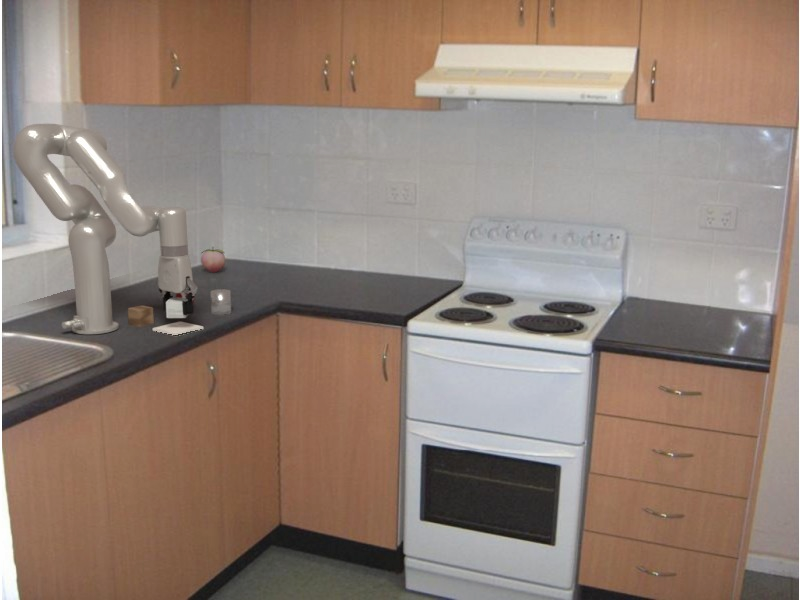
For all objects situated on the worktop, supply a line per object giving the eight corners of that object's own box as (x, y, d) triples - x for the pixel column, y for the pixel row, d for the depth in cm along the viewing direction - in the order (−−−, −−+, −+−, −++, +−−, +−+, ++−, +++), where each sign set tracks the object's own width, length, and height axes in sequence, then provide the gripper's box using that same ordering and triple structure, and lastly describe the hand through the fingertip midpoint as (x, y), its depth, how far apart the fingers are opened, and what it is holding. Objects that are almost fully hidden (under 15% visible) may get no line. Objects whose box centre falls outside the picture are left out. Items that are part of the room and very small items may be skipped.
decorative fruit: (228, 270, 342) (227, 245, 340) (224, 274, 334) (223, 248, 332) (203, 270, 342) (202, 245, 339) (199, 274, 334) (198, 248, 331)
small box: (186, 318, 247) (185, 301, 246) (166, 318, 247) (164, 301, 246) (190, 313, 253) (189, 297, 252) (170, 313, 253) (169, 297, 252)
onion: (190, 311, 274) (189, 286, 272) (173, 310, 275) (171, 285, 273) (198, 307, 279) (197, 282, 277) (181, 306, 280) (180, 282, 278)
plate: (175, 336, 244) (175, 333, 244) (152, 330, 250) (152, 328, 250) (203, 329, 252) (203, 326, 252) (180, 324, 258) (180, 321, 258)
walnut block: (139, 327, 254) (138, 310, 253) (128, 324, 257) (127, 308, 256) (153, 324, 258) (152, 307, 257) (142, 321, 261) (142, 305, 260)
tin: (220, 316, 268) (219, 294, 266) (207, 313, 271) (206, 291, 270) (235, 312, 272) (234, 290, 271) (221, 310, 276) (221, 288, 274)
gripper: (143, 250, 248) (148, 310, 252) (184, 256, 238) (188, 319, 242) (164, 246, 254) (168, 306, 258) (205, 252, 244) (209, 313, 248)
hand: (178, 311), depth 250 cm, fingers closed on small box, 7 cm apart
